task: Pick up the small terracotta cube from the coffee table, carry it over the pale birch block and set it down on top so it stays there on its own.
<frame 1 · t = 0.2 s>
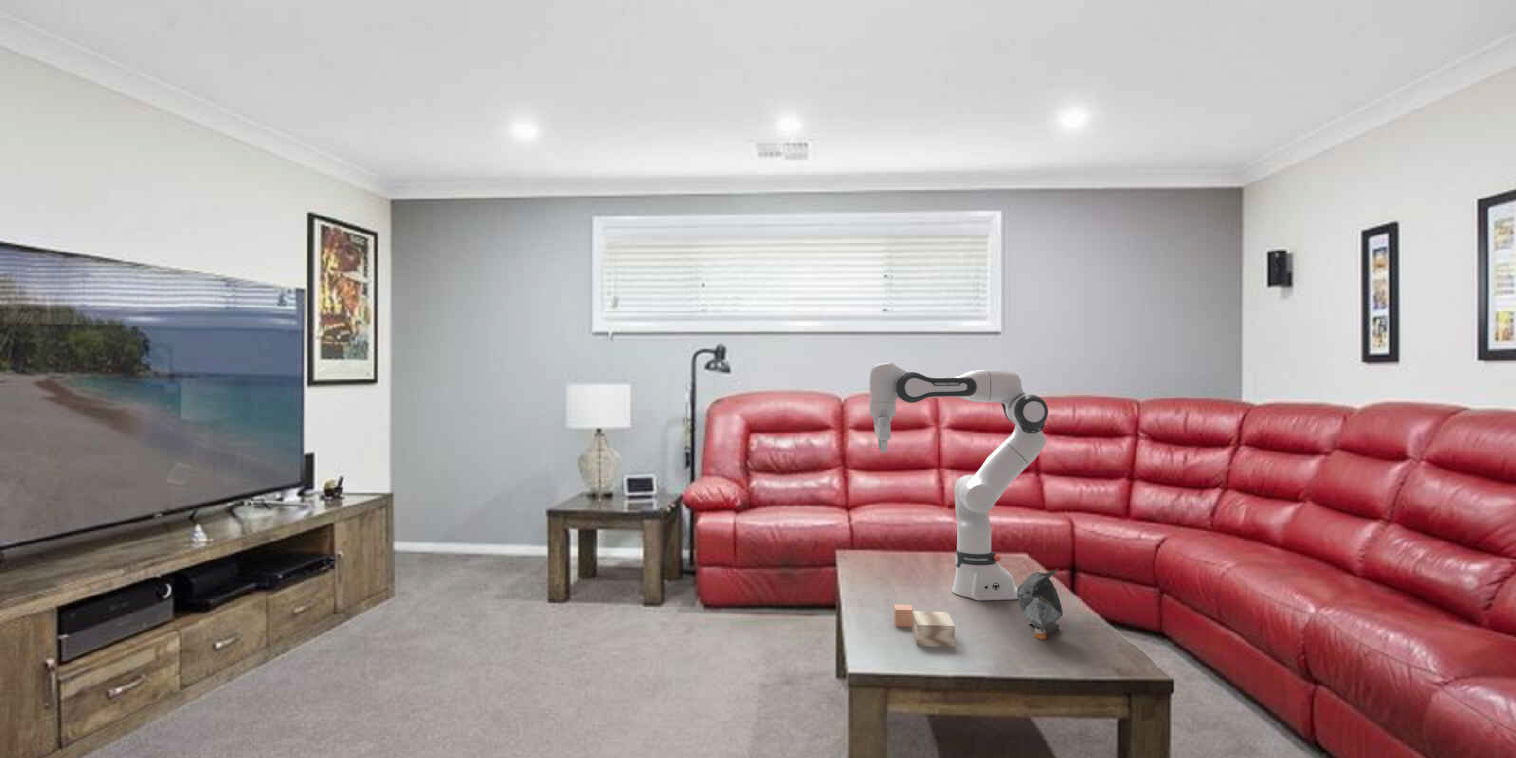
hand: (882, 451, 259), 48 cm above the table, fingers open, 8 cm apart
birch block: (932, 639, 213), on the table
terracotta cube: (903, 624, 226), on the table
grey faceted figure: (1040, 635, 217), on the table
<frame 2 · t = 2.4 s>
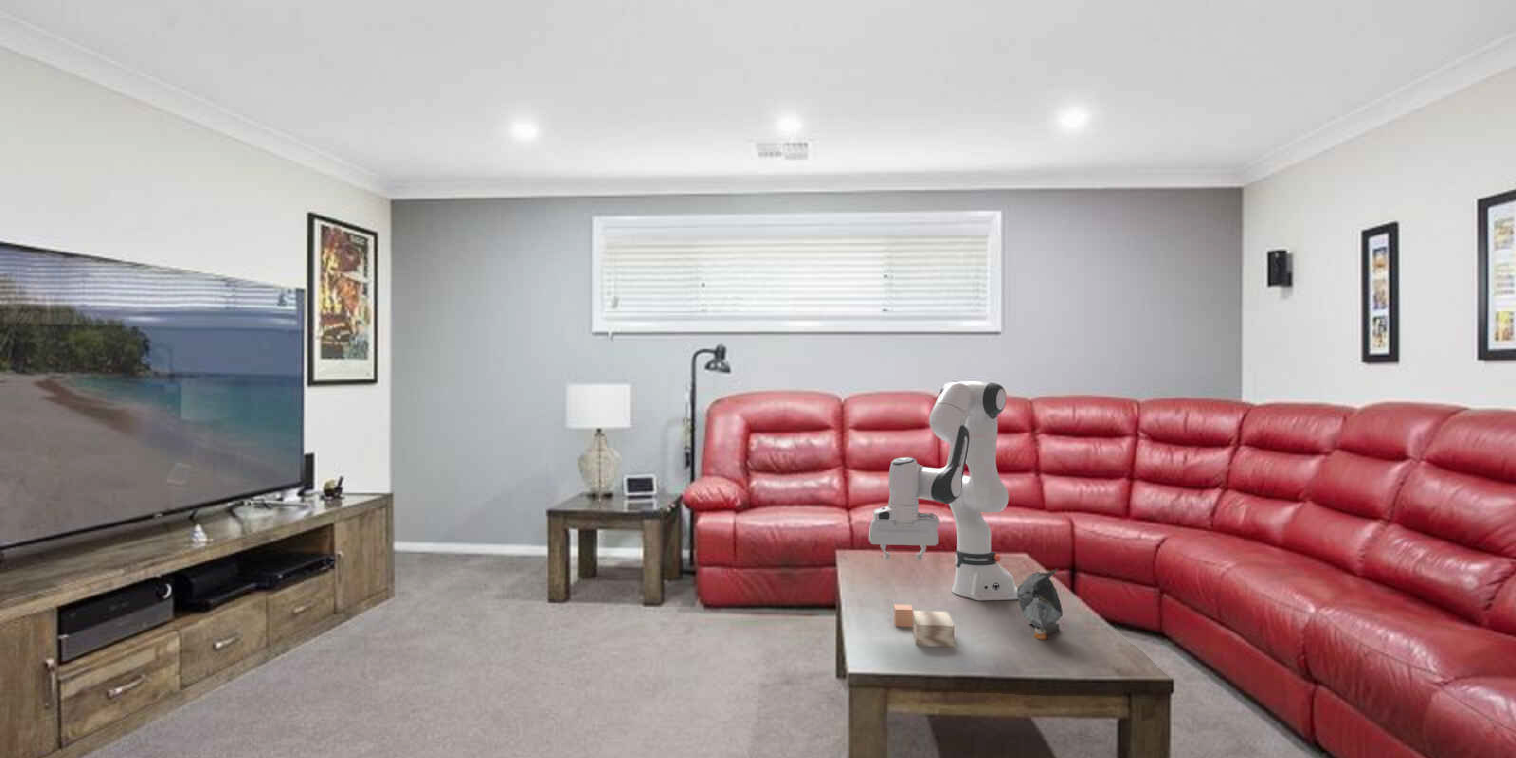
hand: (903, 559, 226), 19 cm above the table, fingers open, 8 cm apart
nothing on the table moved.
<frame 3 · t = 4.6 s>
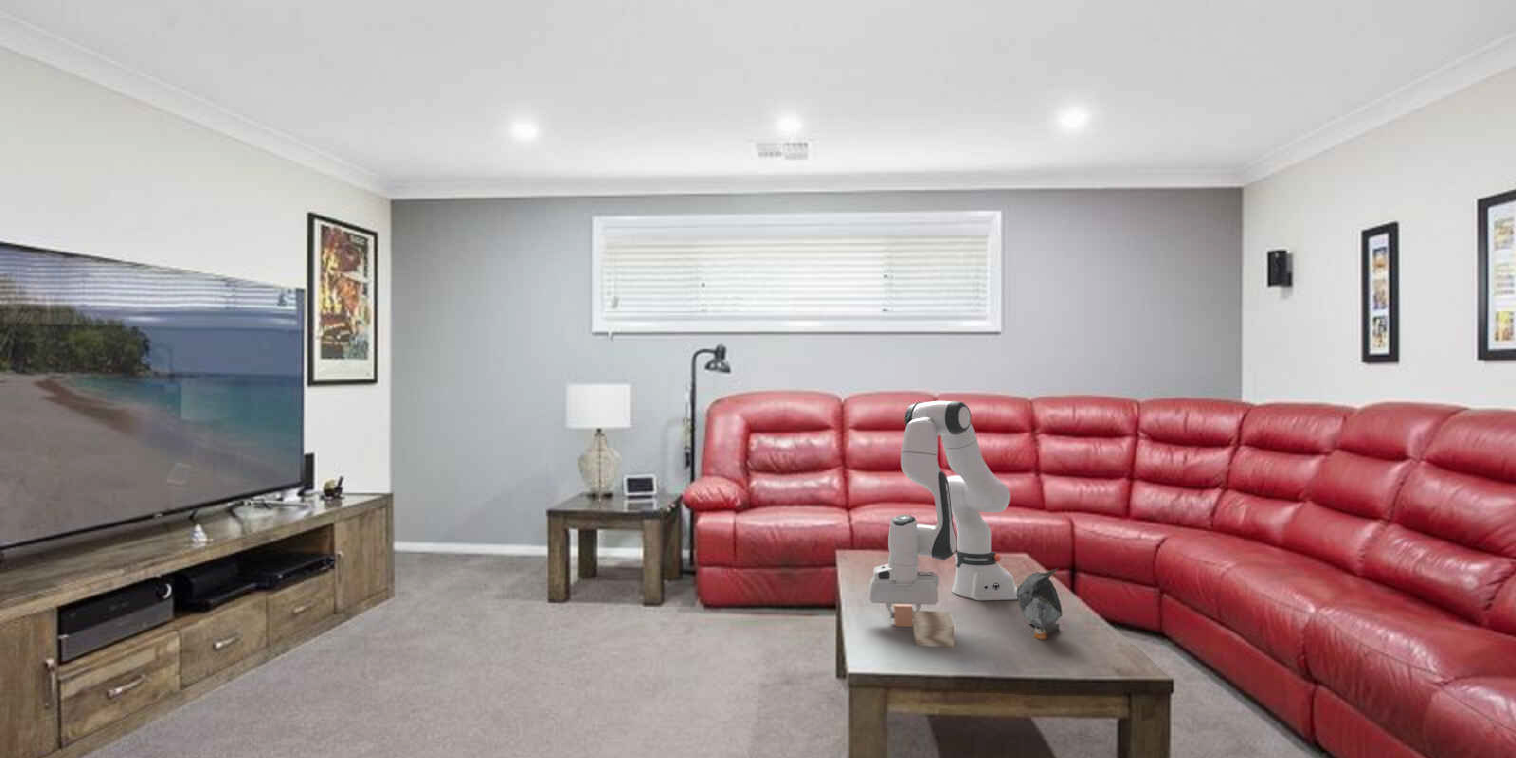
hand: (903, 618, 226), 2 cm above the table, fingers closed on terracotta cube, 5 cm apart
terracotta cube: (903, 623, 226), on the table, touching gripper
everything else where it was.
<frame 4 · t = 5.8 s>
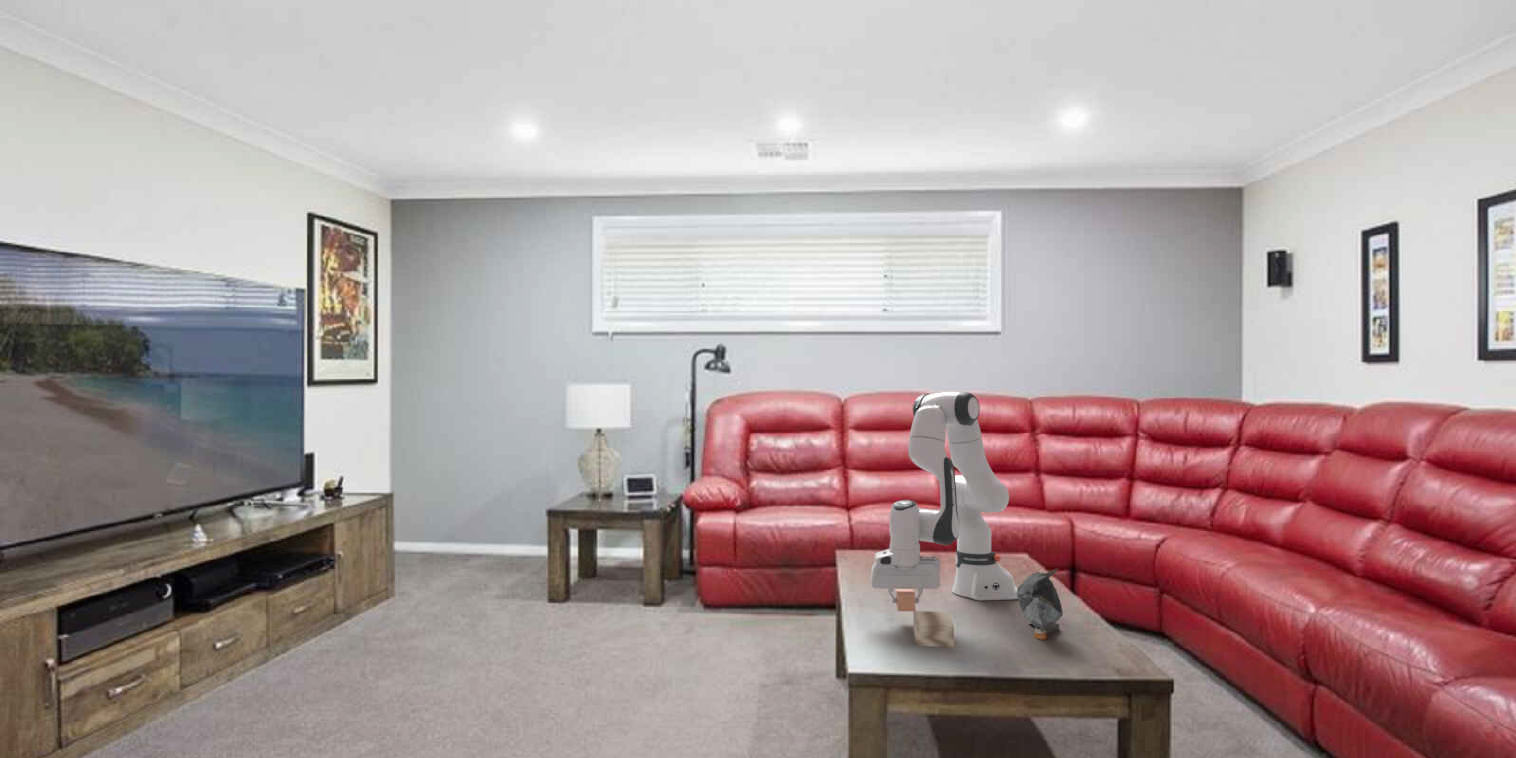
hand: (905, 602, 226), 6 cm above the table, fingers closed on terracotta cube, 5 cm apart
terracotta cube: (905, 608, 226), point 4 cm above the table, touching gripper
everything else where it was.
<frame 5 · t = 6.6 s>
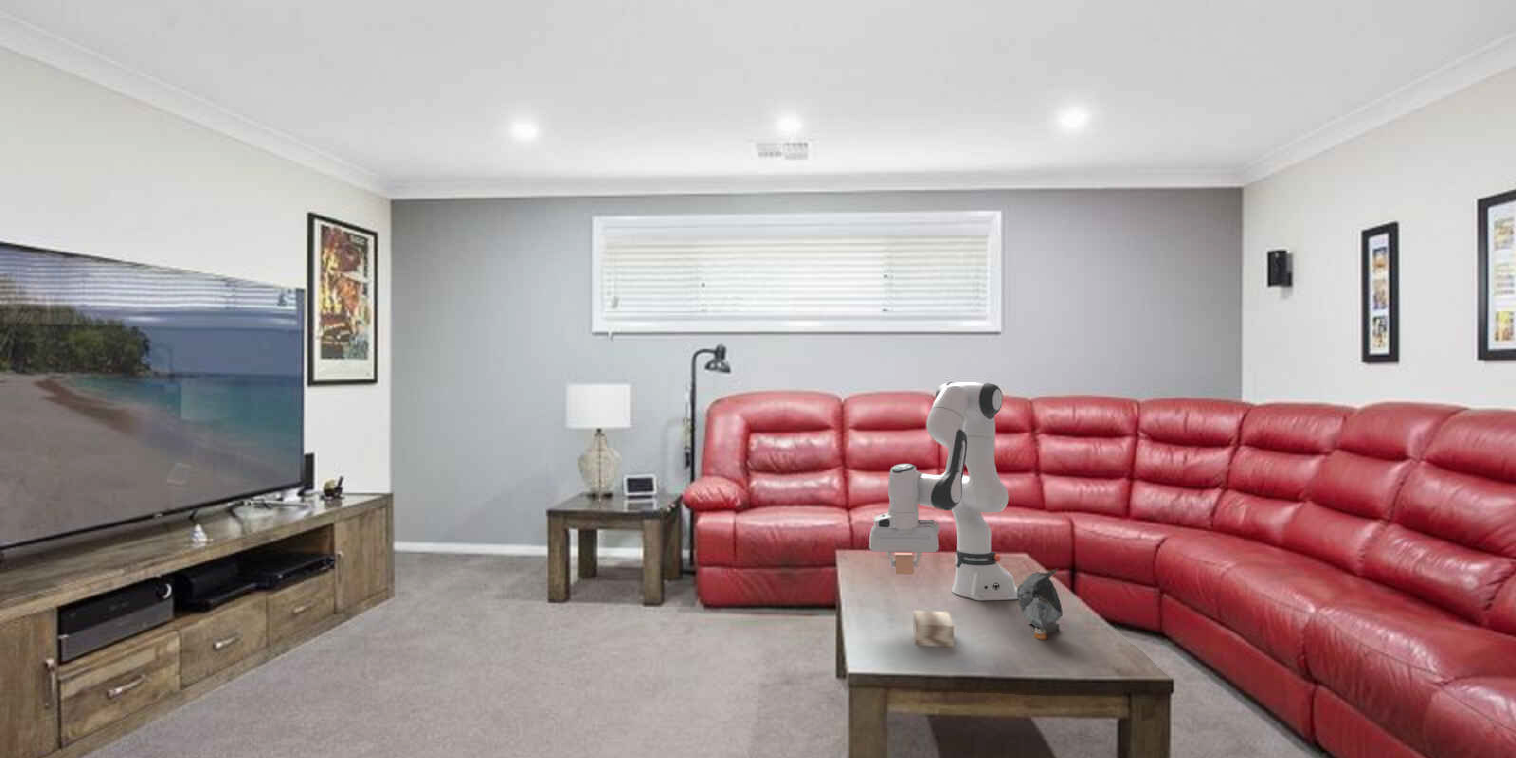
hand: (903, 566, 226), 17 cm above the table, fingers closed on terracotta cube, 5 cm apart
terracotta cube: (903, 571, 226), point 15 cm above the table, touching gripper
everything else where it was.
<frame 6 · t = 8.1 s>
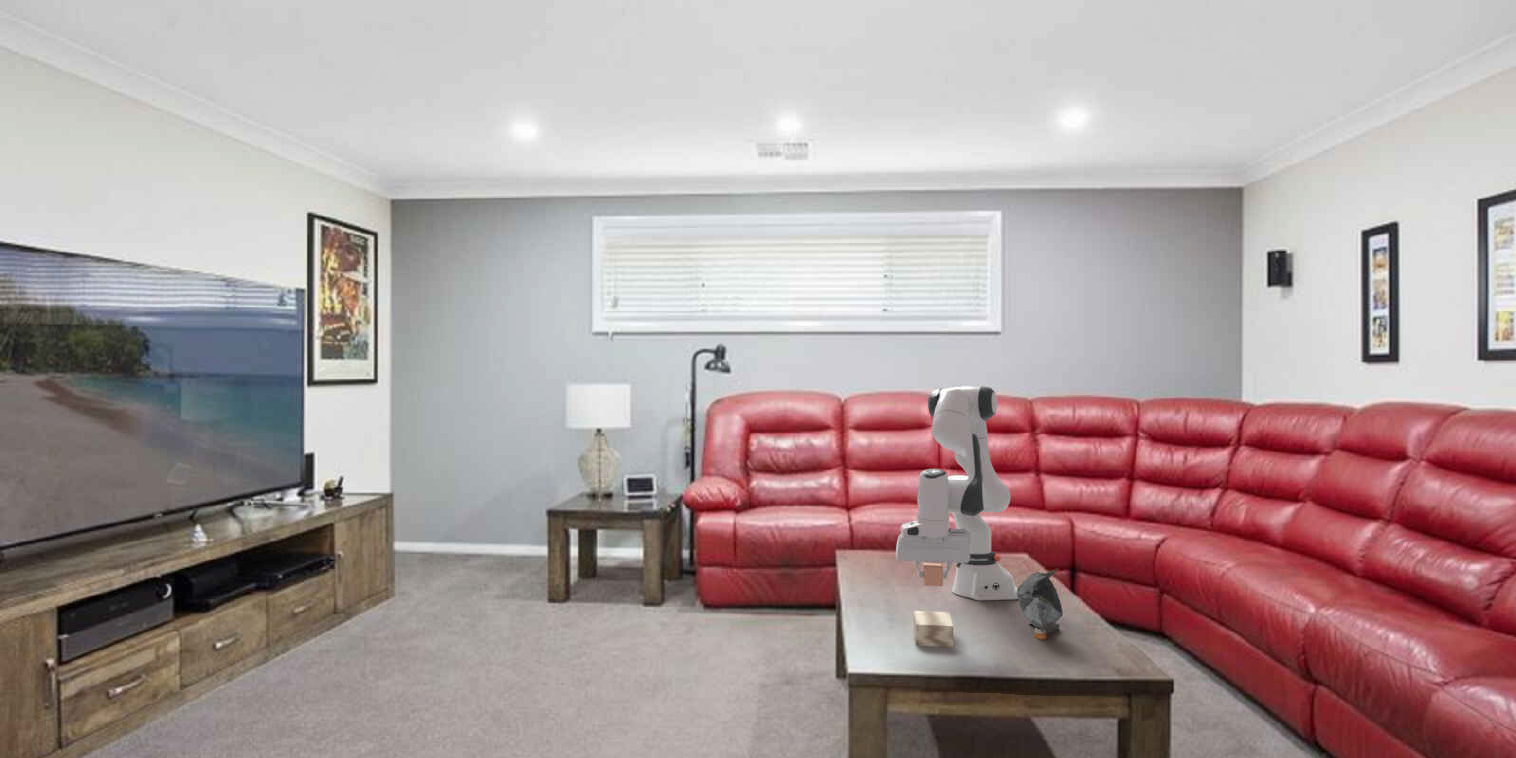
hand: (932, 577, 213), 17 cm above the table, fingers closed on terracotta cube, 5 cm apart
terracotta cube: (932, 583, 213), point 16 cm above the table, touching gripper
everything else where it was.
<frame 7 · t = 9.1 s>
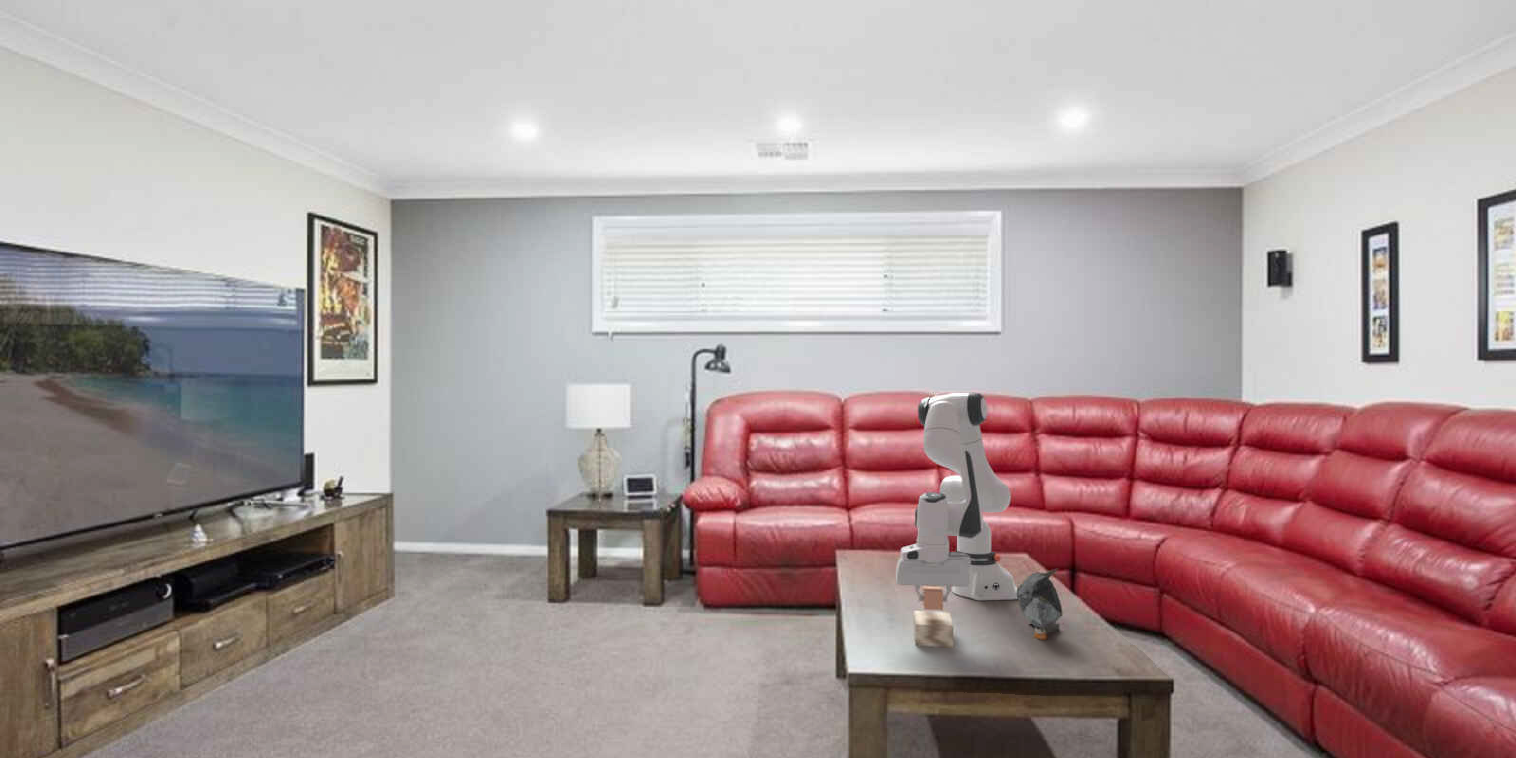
hand: (932, 601, 213), 11 cm above the table, fingers closed on terracotta cube, 5 cm apart
terracotta cube: (932, 606, 213), point 9 cm above the table, touching gripper
everything else where it was.
when the fingers open (9 cm above the table, at t = 9.9 s): terracotta cube drops 1 cm, point 6 cm above the table.
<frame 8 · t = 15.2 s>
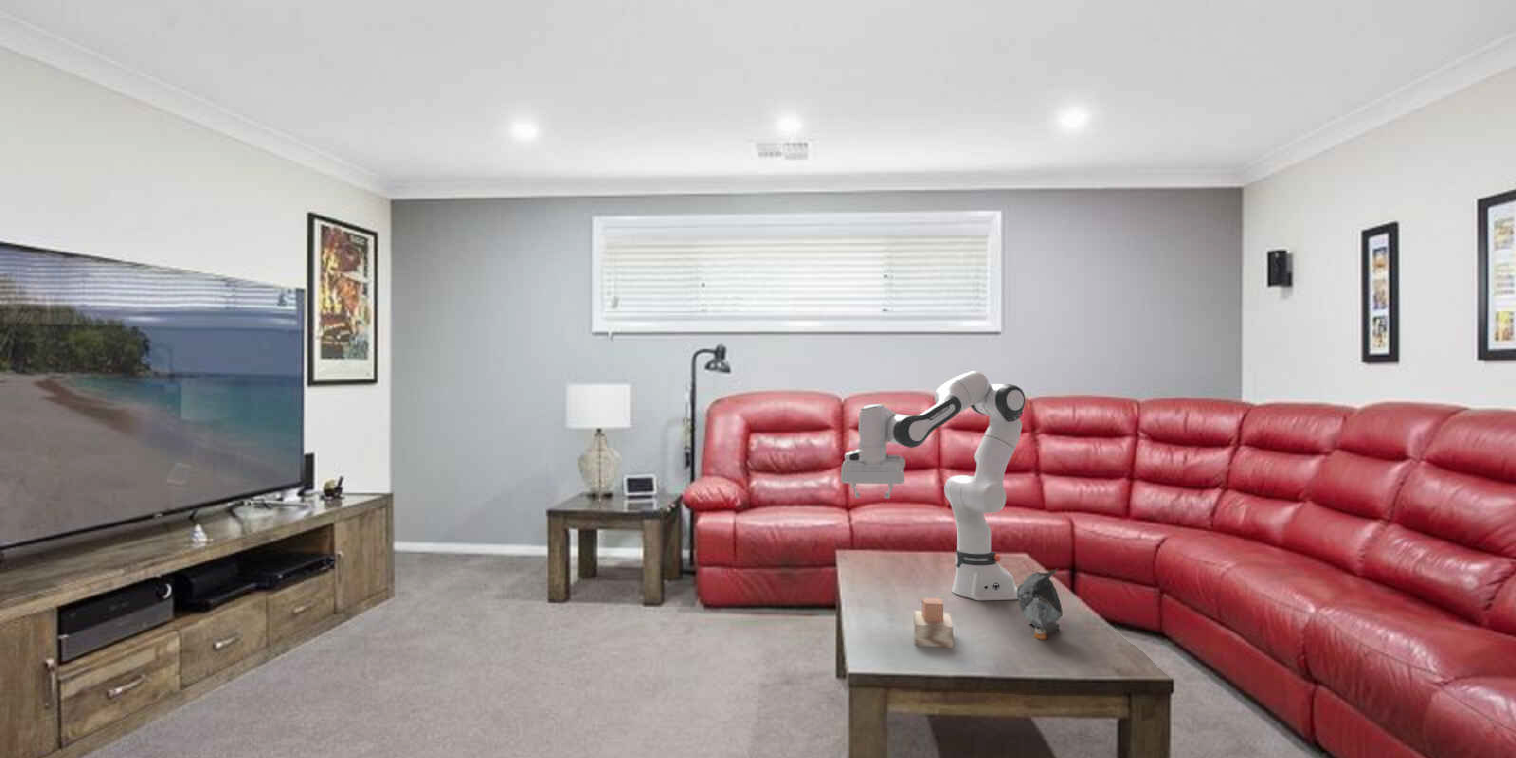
hand: (872, 497, 245), 34 cm above the table, fingers open, 8 cm apart
terracotta cube: (932, 618, 213), point 6 cm above the table
everything else where it was.
at the end: terracotta cube inside the target area on the birch block (0.2 cm from its centre), point 6.0 cm above the birch block's base; terracotta cube touching nothing; terracotta cube tilted 0° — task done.
